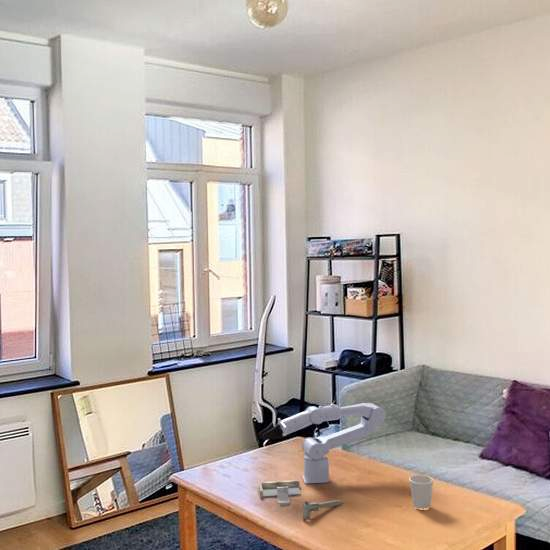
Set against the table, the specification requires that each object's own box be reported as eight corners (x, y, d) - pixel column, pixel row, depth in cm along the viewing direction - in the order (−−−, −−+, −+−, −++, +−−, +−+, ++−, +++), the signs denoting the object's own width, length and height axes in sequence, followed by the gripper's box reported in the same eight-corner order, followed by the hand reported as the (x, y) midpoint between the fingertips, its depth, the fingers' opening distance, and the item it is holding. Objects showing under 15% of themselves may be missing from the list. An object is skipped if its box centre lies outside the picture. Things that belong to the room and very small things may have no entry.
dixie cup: (437, 505, 232) (436, 477, 231) (429, 513, 224) (429, 484, 224) (413, 500, 236) (413, 473, 235) (406, 509, 229) (405, 480, 228)
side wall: (261, 489, 250) (261, 483, 250) (263, 497, 242) (262, 490, 242) (258, 489, 250) (258, 483, 250) (260, 497, 242) (260, 491, 242)
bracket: (277, 499, 241) (276, 487, 240) (288, 498, 241) (287, 486, 241) (278, 505, 235) (278, 493, 234) (290, 505, 235) (289, 492, 235)
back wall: (299, 486, 252) (299, 480, 252) (299, 487, 251) (299, 480, 251) (259, 488, 251) (259, 482, 251) (260, 489, 250) (260, 483, 250)
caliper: (305, 521, 222) (304, 502, 221) (302, 520, 222) (302, 502, 222) (343, 503, 236) (343, 486, 236) (341, 502, 237) (341, 485, 236)
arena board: (298, 487, 251) (298, 486, 251) (301, 495, 243) (301, 493, 243) (261, 489, 250) (261, 488, 250) (263, 497, 242) (263, 496, 242)
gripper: (285, 413, 263) (254, 425, 259) (294, 414, 249) (261, 428, 245) (291, 429, 262) (260, 442, 259) (301, 432, 248) (267, 446, 245)
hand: (261, 436), depth 252 cm, fingers open, 7 cm apart
